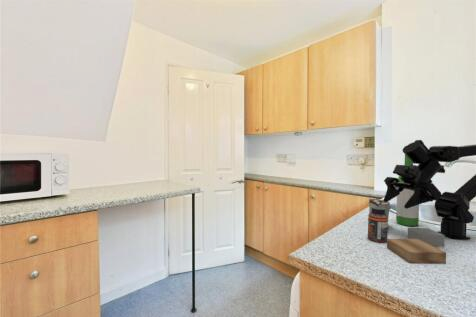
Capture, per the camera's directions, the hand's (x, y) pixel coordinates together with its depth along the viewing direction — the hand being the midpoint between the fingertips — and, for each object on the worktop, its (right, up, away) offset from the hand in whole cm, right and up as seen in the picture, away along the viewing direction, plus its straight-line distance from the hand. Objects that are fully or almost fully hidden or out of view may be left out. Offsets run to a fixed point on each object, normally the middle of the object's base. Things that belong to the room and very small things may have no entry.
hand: (394, 204), depth 82 cm
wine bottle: (+17, -12, +17) cm, 27 cm away
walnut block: (-2, -13, -12) cm, 18 cm away
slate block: (+9, -13, -2) cm, 16 cm away
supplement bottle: (-6, -12, 0) cm, 14 cm away
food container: (+5, -12, +16) cm, 20 cm away
